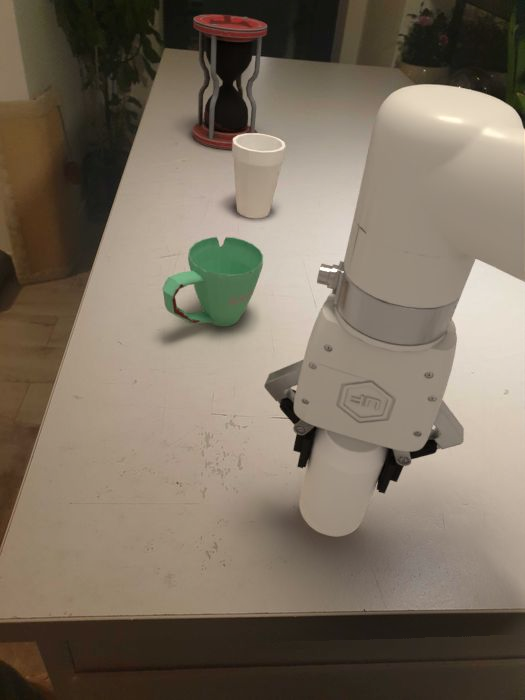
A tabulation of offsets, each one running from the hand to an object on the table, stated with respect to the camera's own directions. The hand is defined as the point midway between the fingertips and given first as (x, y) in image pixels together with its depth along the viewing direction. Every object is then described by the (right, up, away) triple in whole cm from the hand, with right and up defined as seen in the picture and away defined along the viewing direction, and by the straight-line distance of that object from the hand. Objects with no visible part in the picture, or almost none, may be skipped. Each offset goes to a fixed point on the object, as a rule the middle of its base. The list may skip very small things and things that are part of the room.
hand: (343, 466), depth 46 cm
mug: (-14, +14, +28) cm, 34 cm away
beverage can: (-1, -5, +5) cm, 7 cm away
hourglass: (-16, +63, +85) cm, 106 cm away
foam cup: (-9, +37, +56) cm, 67 cm away
